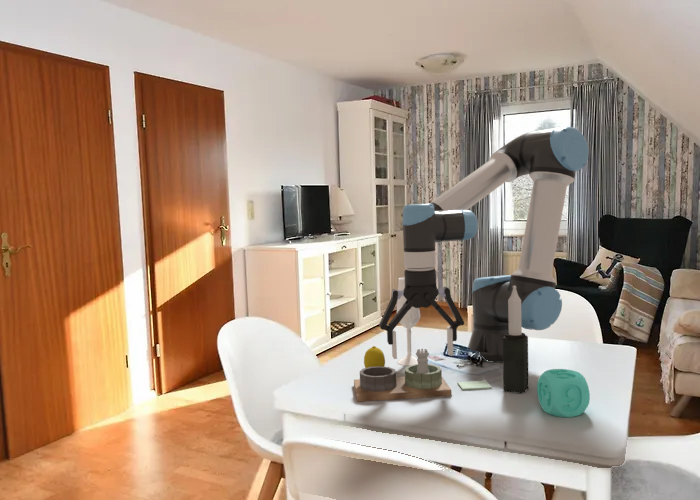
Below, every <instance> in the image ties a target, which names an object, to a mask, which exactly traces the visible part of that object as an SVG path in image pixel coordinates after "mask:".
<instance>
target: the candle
mask: <svg viewBox="0 0 700 500" xmlns="http://www.w3.org/2000/svg"><path fill="white" fill-rule="evenodd" d="M508 318H509V332H507V333H506V334H505V336H504V337H503V362H502V371H503V372H502V378H503V379H502V380H503V381H502V384H503V388H502V389H503V391H504V392H506V393H512V394H513V393H515V394H525V393H526V392H527V390H529V388H530V387H529V336H528V335H526V333H525V332H522V330H523V329H522V328H523V327H521V299H520V298H519V296H518V294H517V291H516V286H515V285H514V286H513V291H512V294H511V296H510V298H509V299H508Z"/></svg>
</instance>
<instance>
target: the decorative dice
mask: <svg viewBox="0 0 700 500" xmlns="http://www.w3.org/2000/svg"><path fill="white" fill-rule="evenodd" d="M536 393H537V394H536V395H537V399H538V402H539V405H540V406H541V409H542V410H543V411H544V412H546V413H547V415H551V416H554V417H560V418H574V417H579V416H581V415H582V414H583V413H584V412H585V411H586V410H587V408H588V407H589V404H590V395H591V393H590V389H589V385H588V382H587V379H586V378H585V377H584V375H583V374H582V373H580V372H579V371H577V370H573V369H566V368H552V369H547V370H545V371H544V372H542V373H541V374H540V376H539V377H538V380H537V384H536Z"/></svg>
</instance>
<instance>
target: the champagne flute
mask: <svg viewBox="0 0 700 500" xmlns="http://www.w3.org/2000/svg"><path fill="white" fill-rule="evenodd" d="M397 282H398V285H397V290H399V291H403V290H404V288H405V278H404V276H402V277H398V281H397ZM406 300H407V299H406V298H405V297H404V296H403V295H402V296H401V298H400V299H397V303H396V314H397V313H398V311H399V310H400V309H401V308H402V306H403V304H404V303H405V302H406ZM420 319H421V311H420V308H415V307H411V309H410V310H409V311H408V312H407V313H406V314H405V315H404V317H403V318H402V319H401V321H400V322H399V323H398V324H400V325H401V326H402V327H403V328H405V329H406V347H407V348H406V351H407V355H406V356H405V357H403V358H401V359H400V360H399V361H397V363H398V364H399V365H402V366H407V367H408V366H411V365H415V364H418V361H417V359H418V357H415V356H413V354H412V331H411V329H412V328H414V327H415V326H416V325H417V324H418V322H419V321H420Z"/></svg>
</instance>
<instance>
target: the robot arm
mask: <svg viewBox="0 0 700 500" xmlns="http://www.w3.org/2000/svg"><path fill="white" fill-rule="evenodd" d="M587 142H588V141H587V140H586V137H585V136H584V134H583V133H582V131H580V130H579V129H577V128H575V127H573V126H556V127H554V128H547V129H542V130H541V129H540V130H533V131H528V132H526V133H523V134H520V135H519V136H517V137H515V138H514V139H512V140H510V141H509V142H507V143H506V144H505V145H502V146H501V147H500V148H499V149H497V150H496V151H495V152H493V153H491V155H490V156H489V160H488V161H487V162H485V163H484V164H482V165H481V166H480V167H478V168H476V170H474V171H472V172H471V173H469V174H468V175H467V176H466V177H464V178H462V179H461V180H460V181H459V182H457V183H456V184H455V185H452V186H451V187H450V188H448V189H447V190H446V191H444V192H443V193H442V194H440V195H439V196H438V197H436V198H434V199H433V200H432V201H431V202H429V203H412V204H406V205H404V206H403V209H402V222H401V224H402V225H401V226H402V237H403V241H402V243H403V264H404V265H403V267H404V268H405V270H404V274H403V275H404V276H403V277H404V278H405V288H404V290H403V291H399V290H398V289H395V288H393V289H391V295H390V297H391V298H390V300H389V302H388V304H387V307H386V308H385V311H384V314H383V315H382V318H381V320H380V321H379V324H378V326H379V328H380V330H384V331H386V336H387V337H386V339H387V340H386V341H387V344H388V345H391V355H392V358H393V360H396V359H397V360H398V357H397V356H398V355H397V354H398V352H397V331H396V330H395V328H396V327H397V326H398V324H400V323H399V322H400V321H401V319H402V318H403V317H404V315H405V314H406V313H407V312H408V311H409V310H410V309H411V307H415V308H419V309H420V308H424V309H425V308H430V307H431V306H432V307H433V308H434V309H435V310H436V311H437V312H438V314H439V315H440V316H441V317H442V318H443V319H444V320H445V322H447V323H448V325H449V326H446V336H447V337H446V342H447V345H446V346H447V348H446V349H447V354H448V356H451V357H452V356H453V357H454V342H457V340H458V333H457V329H458V327H460V326H464V325H465V320H464V318H463V317H462V315H461V314H460V312H459V309H458V308H457V306H456V304H455V301H453V298H452V295H451V290H450V287H447V286H444V287H441V288H438V287H437V270H436V269H435V267H436V266H437V261H436V260H437V259H436V243H442V242H456V241H457V242H460V241H461V242H463V241H468V240H471V239H473V238H474V237H475V236H476V235H477V232H478V229H479V223H478V218H477V216H476V214H475V213H474V212H473V211H472V210H469V209H470V208H472V207H474V205H476V204H477V203H479V202H480V201H481V200H483V199H484V198H486V196H489V194H491V193H492V192H493V191H495V190H497V188H499V187H500V186H502V185H503V184H505V183H512V182H514V180H516V179H518V178H519V177H520V178H521V177H523V176H526V175H529V177H530V179H531V180H532V182H533V184H532V189H531V190H532V191H531V194H530V195H531V197H530V201H529V207H528V212H527V217H526V222H525V229H524V233H523V240H522V246H521V251H520V252H521V253H520V256H519V261H518V267H517V269H516V270H515V271H513V272H512V273H511V274H507V275H506V274H505V275H494V276H493V275H492V276H491V275H490V276H485V277H477V278H475V279H473V282H472V289H471V295H472V297H471V298H472V321H473V323H472V325H473V327H472V332H471V337H470V339H469V342H468V345H467V349H468V348H470V349H471V350H473V351H478V352H480V354H481V355H482V356H483V357H484V358H485V359H486V360H488V361H493V362H492V363H503V337H504V336H505V334H506V333H507V332H509V318H508V299H509V298H510V296H511V294H512V291H513V286H514V285H515V286H516V291H517V294H518V296H519V298H520V299H521V327H522V328H523V329H525V330H535V331H543V330H544V331H545V330H547V329H549V328H550V327H551V326H552V325H554V324H555V323H556V321H558V319H559V317H560V314H561V312H562V307H563V299H562V298H561V293H560V292H559V291H558V290H557V289H556V285H557V281H556V279H555V278H554V277H553V275H552V273H553V268H554V261H555V255H556V252H557V251H556V249H557V245H558V239H559V234H560V233H559V232H560V227H561V224H562V223H561V221H562V215H563V210H564V205H565V198H566V193H567V189H568V186H569V185H571V184H572V183H574V182H575V178H576V173H577V171H580V170H582V169H583V168H584V167H585V166H586V164H587V162H588V160H589V154H590V153H589V150H590V149H589V144H588V143H587ZM439 294H440V296H441V297H443V298H444V300H445V303H446V304H447V306H448V308H449V309H450V311H451V313H452V315H453V317H454V319H455V320H453V319H452V317H450V316H449V314H447V312H446V311H445V310H444V309H443V308H442V307H441V306H440V304H438V302H437V301H436V299H437V298H438V296H439ZM402 295H403V296H404V297H405V298H406V299H407V300H406V302H405V303H404V304H403V306H402V308H401V309H400V310H399V311H398V313H397V312H396V313H395V315H394V317H393V318H392V319H391V320H390V318H391V317H392V313H393V312H394V309H395V307H396V306H397V299H400V298H401V296H402ZM389 320H390V322H389Z"/></svg>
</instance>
